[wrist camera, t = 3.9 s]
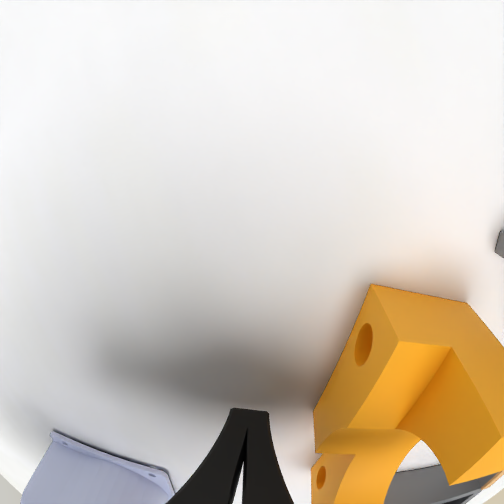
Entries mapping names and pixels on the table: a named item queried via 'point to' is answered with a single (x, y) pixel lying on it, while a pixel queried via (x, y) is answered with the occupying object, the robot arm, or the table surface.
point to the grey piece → (437, 474)
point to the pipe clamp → (409, 397)
